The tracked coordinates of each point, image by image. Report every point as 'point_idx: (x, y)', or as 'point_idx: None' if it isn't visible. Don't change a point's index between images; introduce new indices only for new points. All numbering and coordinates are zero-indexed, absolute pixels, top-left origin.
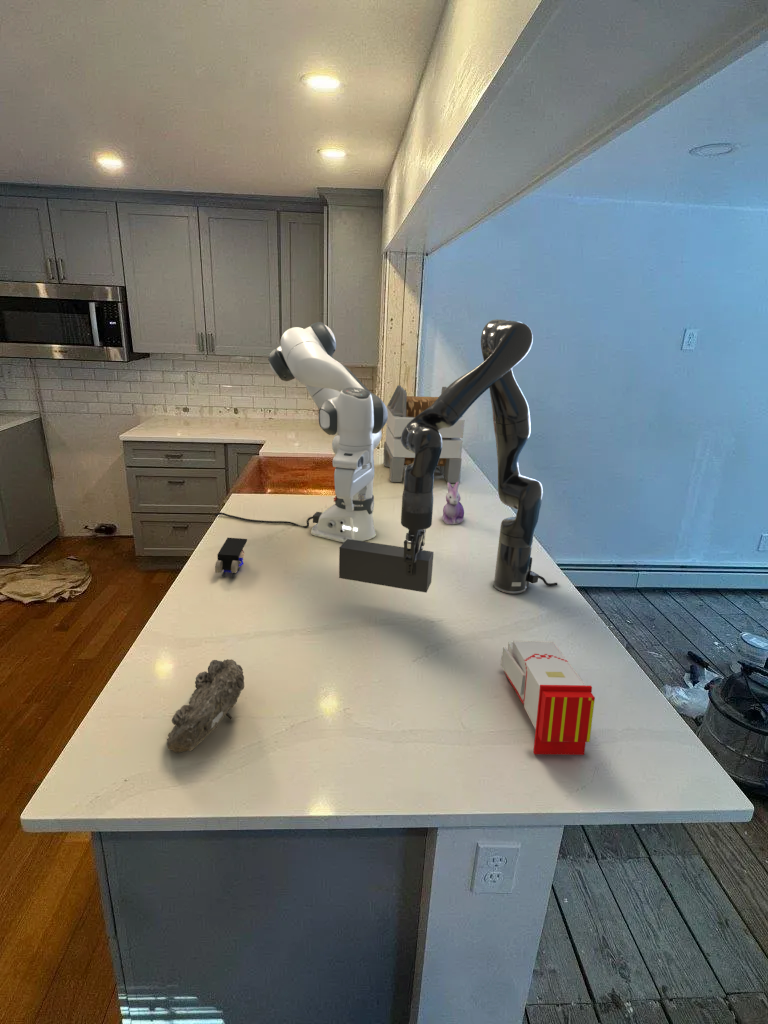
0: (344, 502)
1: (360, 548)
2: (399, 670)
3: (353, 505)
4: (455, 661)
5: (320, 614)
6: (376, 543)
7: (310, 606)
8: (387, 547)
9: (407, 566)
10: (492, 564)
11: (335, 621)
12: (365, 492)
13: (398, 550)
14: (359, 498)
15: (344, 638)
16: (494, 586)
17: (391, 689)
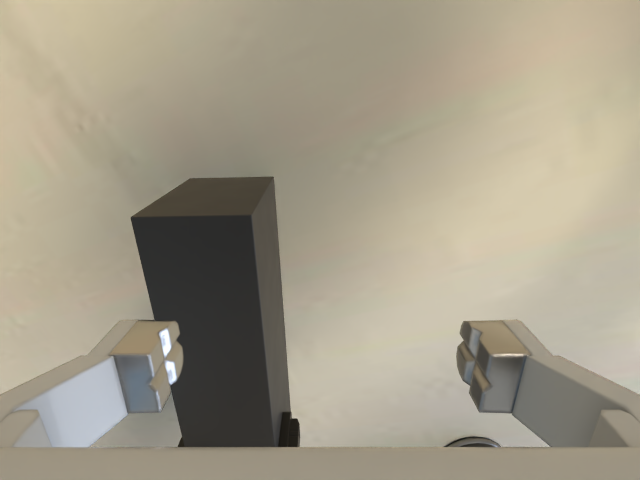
0: (31, 380)
1: (175, 306)
2: (72, 347)
3: (145, 406)
4: (154, 415)
5: (171, 120)
6: (262, 347)
7: (196, 71)
8: (242, 392)
9: (179, 445)
10: None
11: (160, 173)
12: (531, 426)
13: (234, 429)
14: (470, 341)
15: (105, 221)
16: (459, 441)
17: (14, 348)
